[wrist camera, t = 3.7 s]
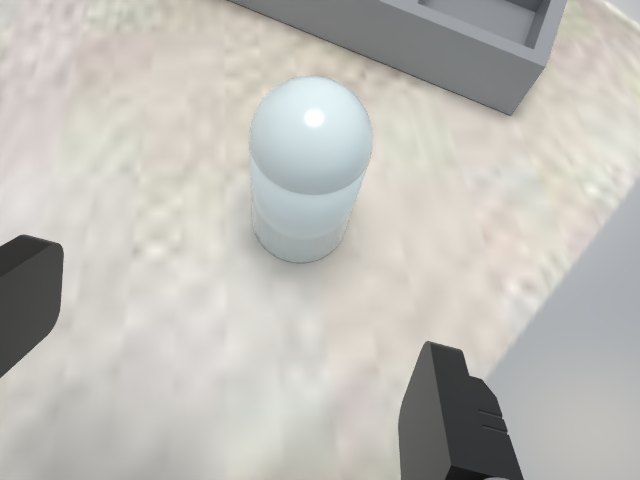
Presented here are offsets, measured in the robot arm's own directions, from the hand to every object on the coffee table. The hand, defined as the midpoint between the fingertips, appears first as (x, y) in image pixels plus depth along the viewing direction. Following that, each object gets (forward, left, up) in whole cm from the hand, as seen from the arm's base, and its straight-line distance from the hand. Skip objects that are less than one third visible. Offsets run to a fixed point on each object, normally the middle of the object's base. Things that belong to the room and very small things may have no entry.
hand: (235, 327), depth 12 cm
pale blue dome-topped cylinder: (-1, +8, -12) cm, 15 cm away
